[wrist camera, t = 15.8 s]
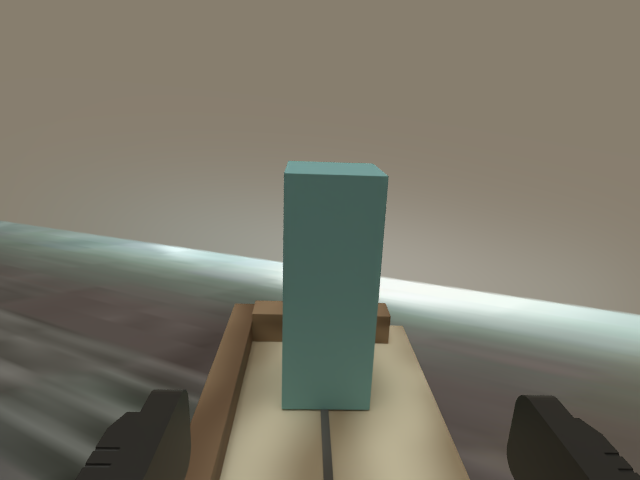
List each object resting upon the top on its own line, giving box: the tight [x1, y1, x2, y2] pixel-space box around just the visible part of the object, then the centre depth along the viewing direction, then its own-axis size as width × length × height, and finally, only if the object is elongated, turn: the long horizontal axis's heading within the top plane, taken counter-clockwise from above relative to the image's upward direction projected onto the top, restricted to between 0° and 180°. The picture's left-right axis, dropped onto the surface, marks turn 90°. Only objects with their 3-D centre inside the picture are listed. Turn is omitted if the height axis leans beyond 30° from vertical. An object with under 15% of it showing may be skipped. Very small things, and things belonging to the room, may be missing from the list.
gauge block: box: [282, 161, 388, 410], centre depth 22 cm, size 4×4×12 cm
